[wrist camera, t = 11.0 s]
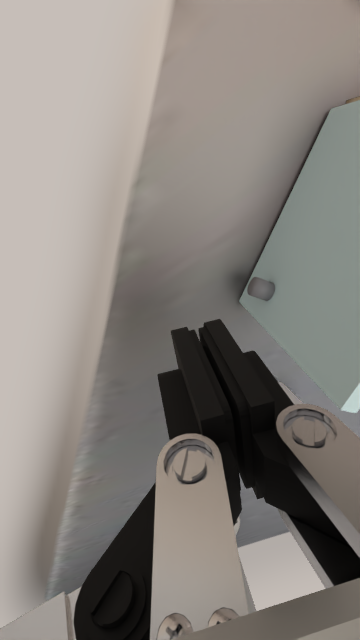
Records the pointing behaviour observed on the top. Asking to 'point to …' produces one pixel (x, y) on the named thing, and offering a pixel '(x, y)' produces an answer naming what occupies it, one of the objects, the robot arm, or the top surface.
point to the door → (318, 264)
